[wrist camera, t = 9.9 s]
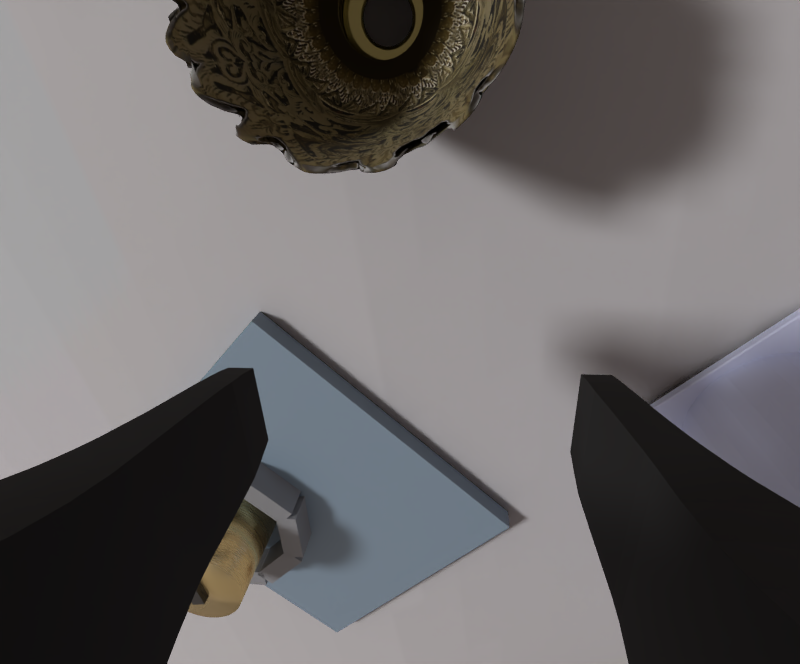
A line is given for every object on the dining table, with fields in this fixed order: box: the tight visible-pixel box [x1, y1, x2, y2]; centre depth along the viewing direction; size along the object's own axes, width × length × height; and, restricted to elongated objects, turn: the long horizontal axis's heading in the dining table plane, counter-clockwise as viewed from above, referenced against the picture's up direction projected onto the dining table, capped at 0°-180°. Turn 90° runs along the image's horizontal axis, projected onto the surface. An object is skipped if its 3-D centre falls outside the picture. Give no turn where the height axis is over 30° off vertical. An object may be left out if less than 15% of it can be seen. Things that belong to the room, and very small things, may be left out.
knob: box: [188, 499, 276, 617], centre depth 24 cm, size 4×4×5 cm
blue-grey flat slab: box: [201, 312, 509, 632], centre depth 25 cm, size 16×14×2 cm
